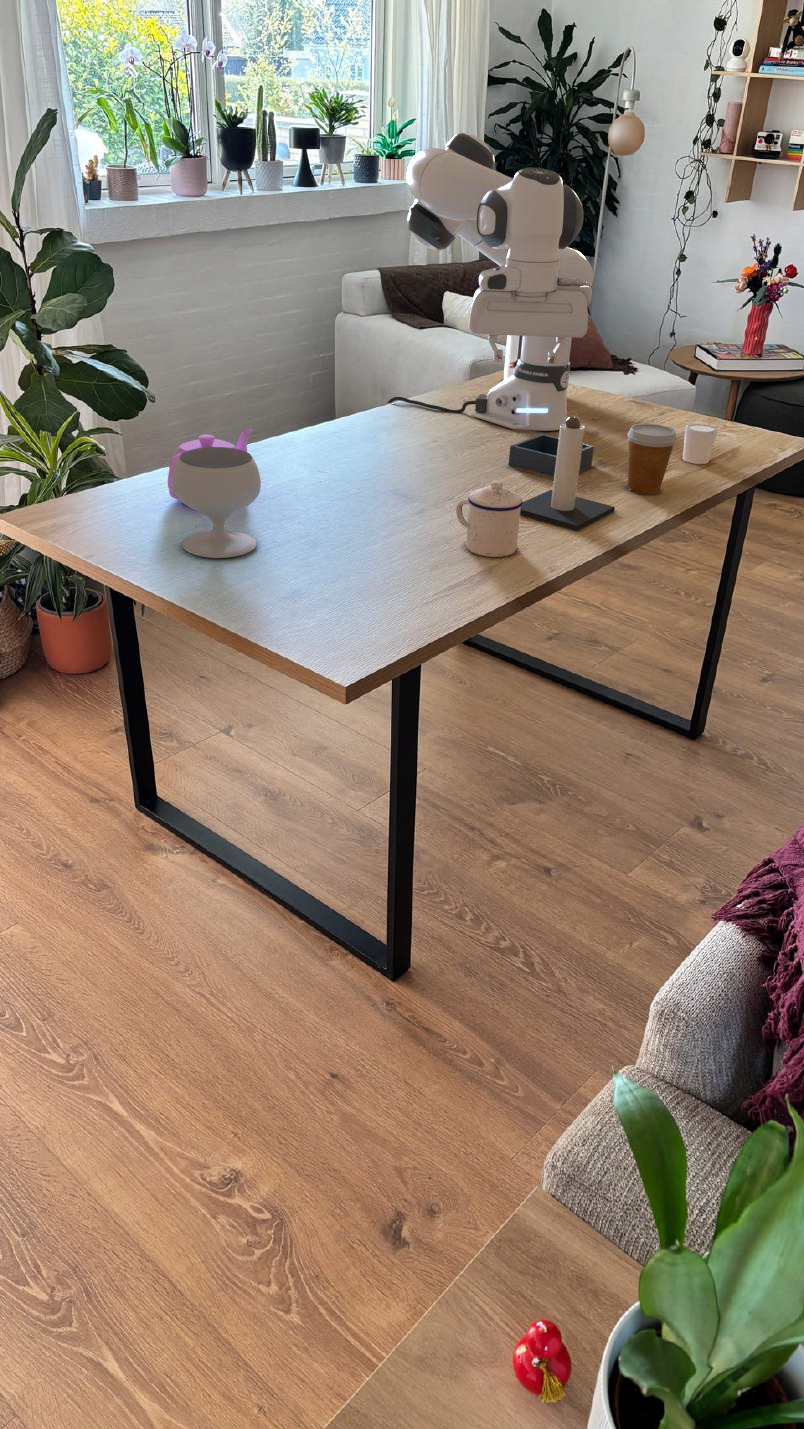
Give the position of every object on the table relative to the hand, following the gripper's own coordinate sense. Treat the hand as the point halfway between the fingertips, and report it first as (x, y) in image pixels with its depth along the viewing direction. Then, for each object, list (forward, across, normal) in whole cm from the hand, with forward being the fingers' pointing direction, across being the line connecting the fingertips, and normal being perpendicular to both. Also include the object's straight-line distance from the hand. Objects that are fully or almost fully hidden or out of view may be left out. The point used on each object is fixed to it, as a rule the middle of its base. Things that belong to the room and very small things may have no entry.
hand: (524, 362), depth 189 cm
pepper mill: (+26, -9, 0) cm, 27 cm away
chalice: (+26, +50, +27) cm, 62 cm away
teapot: (+26, +56, +4) cm, 61 cm away
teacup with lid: (+27, +6, +20) cm, 34 cm away
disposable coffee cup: (+28, -26, -16) cm, 41 cm away
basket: (+27, -9, -27) cm, 39 cm away
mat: (+27, -9, 0) cm, 28 cm away
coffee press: (+28, -6, -93) cm, 98 cm away
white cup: (+28, -41, -38) cm, 63 cm away
